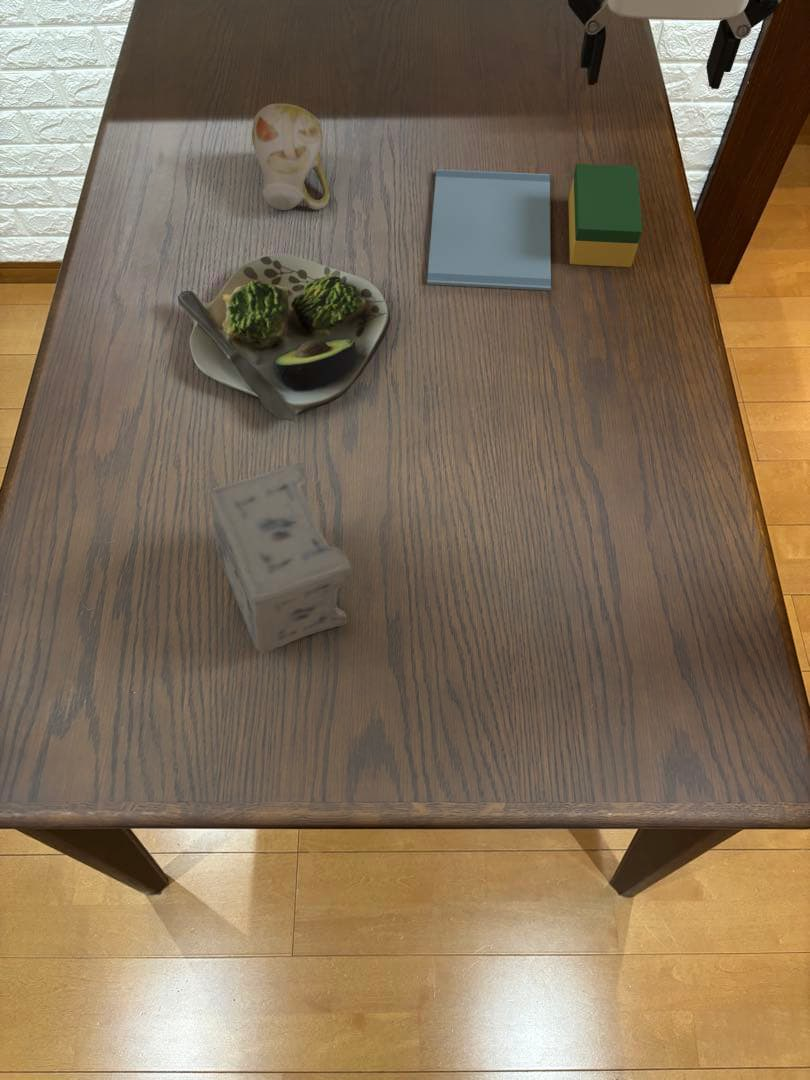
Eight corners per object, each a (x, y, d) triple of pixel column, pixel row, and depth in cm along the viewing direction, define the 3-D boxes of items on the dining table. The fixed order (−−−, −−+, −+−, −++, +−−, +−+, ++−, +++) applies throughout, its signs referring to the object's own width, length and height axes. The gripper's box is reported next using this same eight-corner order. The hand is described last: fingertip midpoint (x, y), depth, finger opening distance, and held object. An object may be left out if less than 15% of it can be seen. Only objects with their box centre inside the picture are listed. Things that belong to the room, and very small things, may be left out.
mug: (251, 225, 84) (222, 118, 79) (282, 201, 92) (258, 102, 87) (319, 216, 82) (294, 105, 77) (345, 192, 90) (324, 90, 84)
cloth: (549, 177, 87) (550, 173, 87) (550, 291, 80) (550, 287, 80) (436, 172, 88) (436, 168, 87) (426, 284, 80) (427, 281, 80)
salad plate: (135, 368, 76) (119, 334, 72) (237, 241, 83) (228, 204, 79) (318, 446, 72) (313, 415, 68) (409, 306, 79) (409, 270, 75)
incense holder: (361, 619, 65) (352, 562, 55) (261, 662, 63) (235, 611, 54) (313, 519, 69) (298, 450, 59) (218, 557, 67) (188, 493, 58)
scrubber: (568, 200, 85) (576, 163, 81) (626, 203, 85) (637, 166, 81) (569, 264, 81) (578, 228, 77) (630, 267, 81) (642, 231, 77)
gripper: (580, -161, 50) (543, 102, 65) (872, -156, 49) (766, 110, 64) (578, -217, 54) (543, 45, 69) (850, -213, 53) (754, 51, 68)
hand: (651, 76), depth 67 cm, fingers open, 9 cm apart
